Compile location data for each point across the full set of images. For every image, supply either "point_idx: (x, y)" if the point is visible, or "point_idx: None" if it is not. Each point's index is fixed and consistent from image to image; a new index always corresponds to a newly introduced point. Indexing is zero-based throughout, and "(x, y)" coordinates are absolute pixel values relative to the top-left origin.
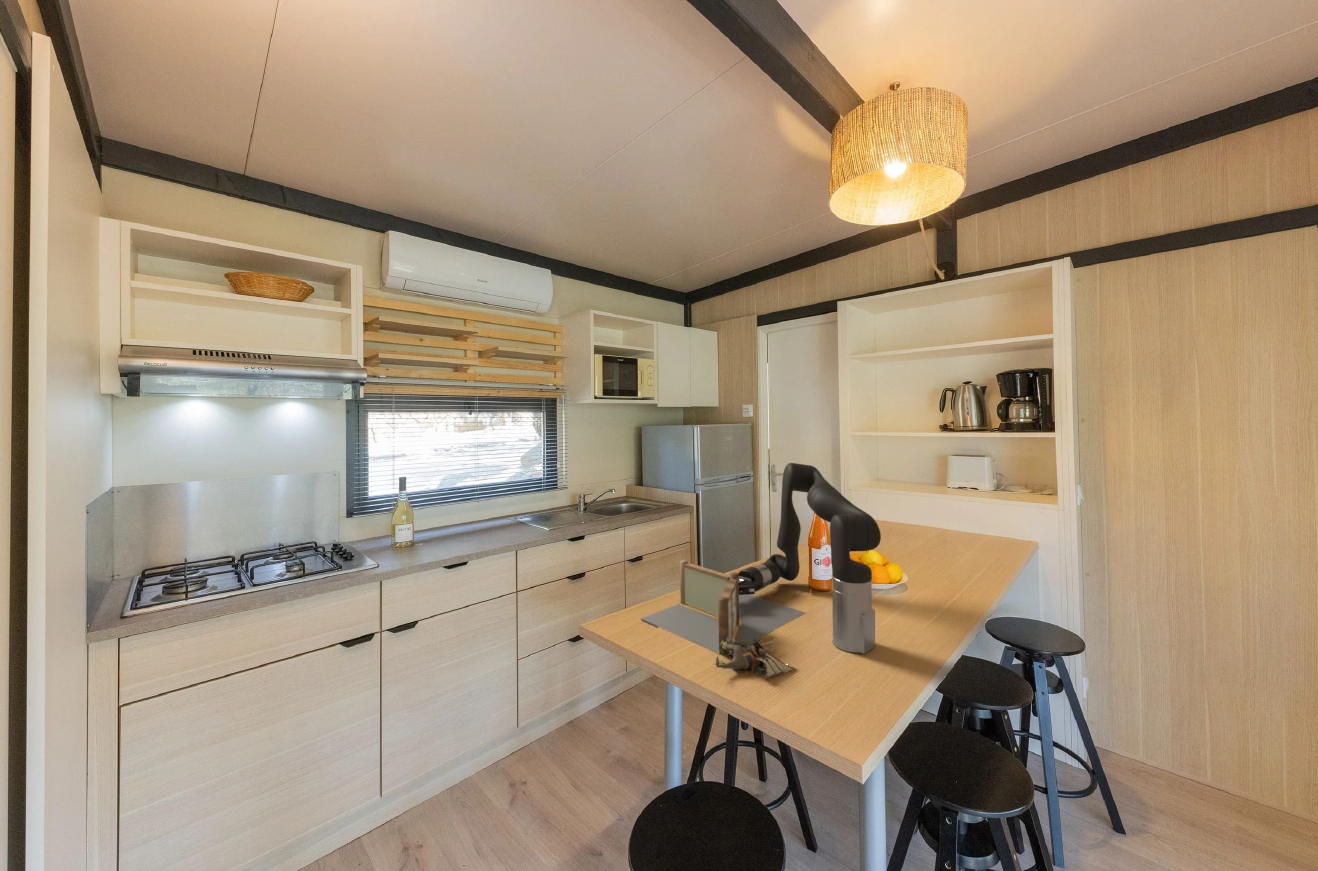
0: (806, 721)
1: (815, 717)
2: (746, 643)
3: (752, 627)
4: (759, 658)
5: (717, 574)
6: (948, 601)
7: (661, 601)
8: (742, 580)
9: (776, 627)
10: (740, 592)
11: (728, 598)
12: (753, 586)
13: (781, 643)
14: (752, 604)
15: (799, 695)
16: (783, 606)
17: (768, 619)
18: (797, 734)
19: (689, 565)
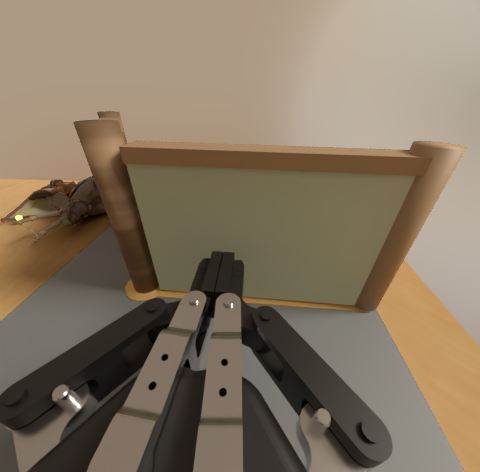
0: (24, 186)
1: (10, 191)
2: (84, 183)
3: (88, 291)
4: (64, 184)
5: (189, 143)
6: None
7: (420, 286)
8: (125, 409)
9: None
10: (141, 349)
11: (99, 118)
12: (11, 389)
13: (5, 277)
14: None
15: (19, 201)
16: None
17: (10, 380)
18: (39, 179)
19: (372, 150)
